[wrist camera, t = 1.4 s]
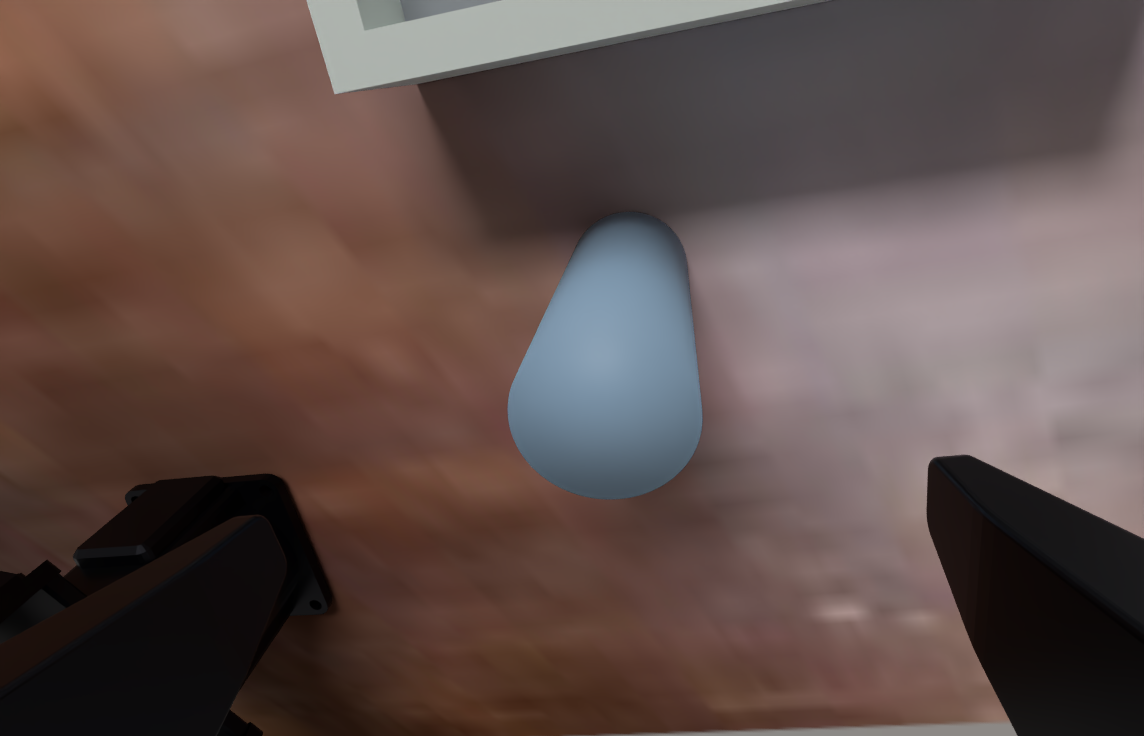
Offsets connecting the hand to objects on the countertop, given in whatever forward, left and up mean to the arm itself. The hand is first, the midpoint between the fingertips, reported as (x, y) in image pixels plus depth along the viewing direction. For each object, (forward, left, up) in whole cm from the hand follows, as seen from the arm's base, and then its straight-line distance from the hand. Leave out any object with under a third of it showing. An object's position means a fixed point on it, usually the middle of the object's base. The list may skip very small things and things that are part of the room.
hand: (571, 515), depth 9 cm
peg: (0, 0, -12) cm, 12 cm away
